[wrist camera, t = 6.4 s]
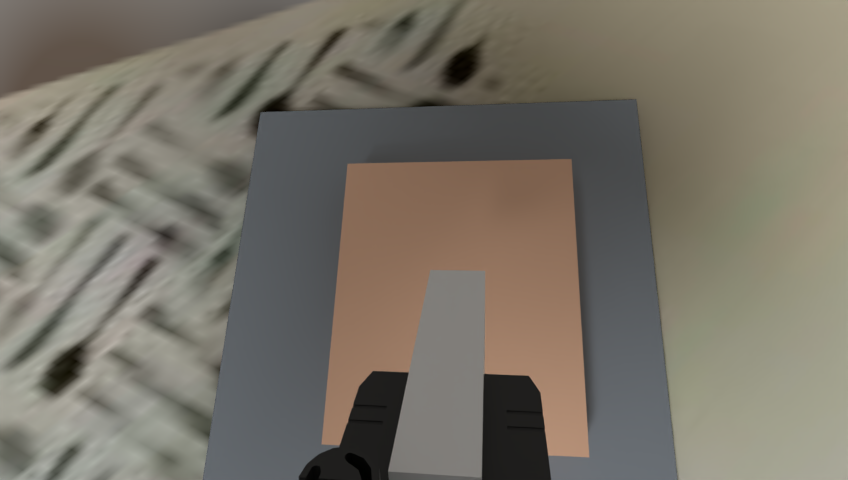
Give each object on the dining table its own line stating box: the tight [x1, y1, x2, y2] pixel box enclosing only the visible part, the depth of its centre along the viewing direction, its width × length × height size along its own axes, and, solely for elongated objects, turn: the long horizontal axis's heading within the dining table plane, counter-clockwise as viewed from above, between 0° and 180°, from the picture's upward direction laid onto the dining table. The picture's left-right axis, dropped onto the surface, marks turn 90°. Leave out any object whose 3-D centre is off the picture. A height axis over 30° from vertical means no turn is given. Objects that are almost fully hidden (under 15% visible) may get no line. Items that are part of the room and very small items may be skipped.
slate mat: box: [203, 99, 677, 480], centre depth 23 cm, size 19×20×1 cm
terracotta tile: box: [322, 159, 589, 457], centre depth 22 cm, size 10×2×12 cm
